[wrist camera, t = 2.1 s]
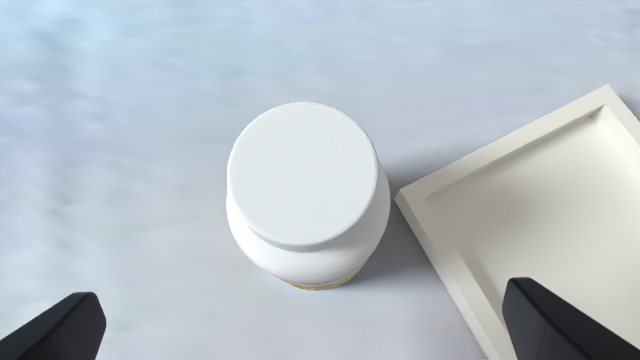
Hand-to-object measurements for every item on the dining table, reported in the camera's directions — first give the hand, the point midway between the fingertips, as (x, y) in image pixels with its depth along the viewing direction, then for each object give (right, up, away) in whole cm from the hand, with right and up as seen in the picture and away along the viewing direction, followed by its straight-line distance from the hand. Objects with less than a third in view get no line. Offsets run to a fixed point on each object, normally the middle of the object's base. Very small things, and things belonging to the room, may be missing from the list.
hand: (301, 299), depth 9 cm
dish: (+12, -1, +10) cm, 16 cm away
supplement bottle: (0, 0, +11) cm, 11 cm away
